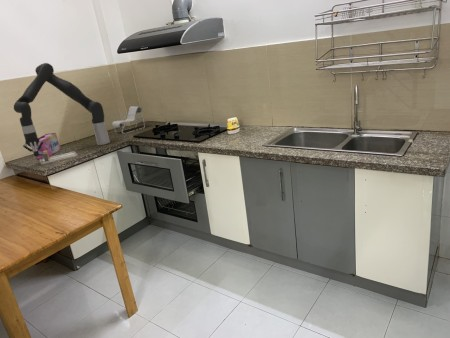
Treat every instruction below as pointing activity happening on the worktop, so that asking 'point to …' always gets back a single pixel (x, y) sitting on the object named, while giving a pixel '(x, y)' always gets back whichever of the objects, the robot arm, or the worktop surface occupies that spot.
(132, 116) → the chair
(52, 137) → the gum box
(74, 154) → the console
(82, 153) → the worktop surface
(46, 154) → the fader charcoal
